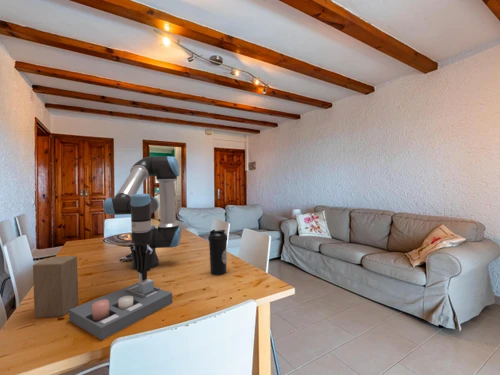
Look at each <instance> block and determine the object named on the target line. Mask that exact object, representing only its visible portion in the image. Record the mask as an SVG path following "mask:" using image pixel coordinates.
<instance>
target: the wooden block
mask: <svg viewBox="0 0 500 375" xmlns="http://www.w3.org/2000/svg"><path fill="white" fill-rule="evenodd" d="M32 276H33V277H32V278H33V303H34V305H33V306H34V318H35V317H43V318H57V317H58V318H59V317H64V316H65V315H66V314H67V313H69V309H72V308H74V307H77V306H78V305H79V281H78V280H79V279H78V278H79V276H78V256H77V255H69V256H68V255H67V256H66V255H65V256H51V257H47V258H46V259H43V260H41V261H39V262H37V263H34V264H33V265H32Z"/></svg>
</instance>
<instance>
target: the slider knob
mask: <svg viewBox="0 0 500 375" xmlns="http://www.w3.org/2000/svg"><path fill="white" fill-rule="evenodd" d="M138 283H139V282H138ZM138 286H139V293H141V294H146V293H149V292H151V291H153V290H154V287H155V281H154V280H153V279H150V278H147V280H145V281H143V282H140V283H139V284H138Z"/></svg>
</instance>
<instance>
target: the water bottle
mask: <svg viewBox="0 0 500 375" xmlns="http://www.w3.org/2000/svg"><path fill="white" fill-rule="evenodd" d="M225 232H226V230H225V229H219V230H215V229H212V230H210V231H209V235H208V242H209V243H208V244H209V246H208V247H209V265H210V266H209V267H210V274H211V275H212V276H222V275H225V274H227V259H228V258H227V257H228V256H227V255H228V249H227V245H228V244H227V242H228V235H227V234H226V233H225Z"/></svg>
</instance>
